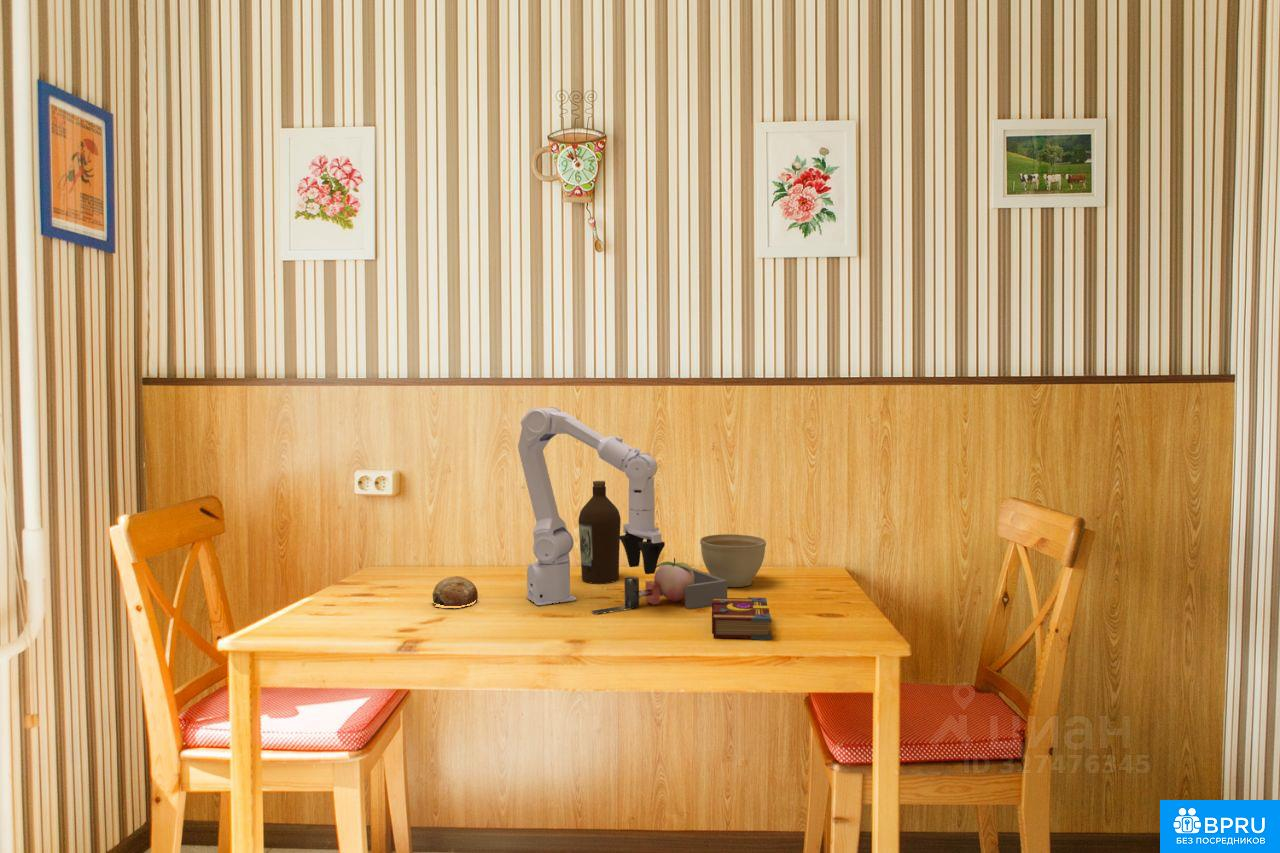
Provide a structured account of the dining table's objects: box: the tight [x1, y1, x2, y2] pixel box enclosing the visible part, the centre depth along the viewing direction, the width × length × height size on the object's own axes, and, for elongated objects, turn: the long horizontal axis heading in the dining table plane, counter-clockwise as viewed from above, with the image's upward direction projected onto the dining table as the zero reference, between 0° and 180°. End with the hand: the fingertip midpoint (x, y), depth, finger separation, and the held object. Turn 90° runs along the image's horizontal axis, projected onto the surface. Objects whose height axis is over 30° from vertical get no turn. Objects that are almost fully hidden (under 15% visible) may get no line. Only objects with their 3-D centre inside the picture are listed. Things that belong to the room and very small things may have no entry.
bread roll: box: [432, 575, 479, 606], centre depth 176 cm, size 10×10×8 cm
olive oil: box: [578, 480, 622, 584], centre depth 196 cm, size 11×11×25 cm
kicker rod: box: [623, 576, 661, 608], centre depth 172 cm, size 8×4×6 cm, turn 118°
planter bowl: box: [699, 533, 767, 588], centre depth 192 cm, size 16×16×11 cm
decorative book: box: [711, 596, 772, 641], centre depth 156 cm, size 11×16×5 cm
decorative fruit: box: [653, 557, 694, 603], centre depth 175 cm, size 9×8×10 cm
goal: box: [660, 567, 728, 610], centre depth 178 cm, size 10×14×5 cm
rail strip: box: [591, 605, 633, 615], centre depth 169 cm, size 9×2×1 cm, turn 118°
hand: (641, 570), depth 172 cm, fingers open, 7 cm apart
